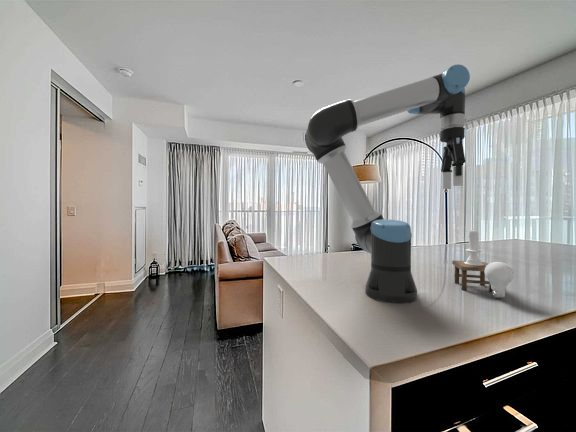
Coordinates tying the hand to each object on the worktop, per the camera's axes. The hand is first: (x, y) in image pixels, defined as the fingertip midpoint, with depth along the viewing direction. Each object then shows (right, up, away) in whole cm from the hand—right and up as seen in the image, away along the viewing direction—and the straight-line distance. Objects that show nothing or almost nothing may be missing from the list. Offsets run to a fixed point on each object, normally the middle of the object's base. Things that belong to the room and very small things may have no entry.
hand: (451, 187), depth 91 cm
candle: (+3, -27, -7) cm, 28 cm away
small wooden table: (+3, -35, -6) cm, 36 cm away
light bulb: (+3, -35, -17) cm, 39 cm away
